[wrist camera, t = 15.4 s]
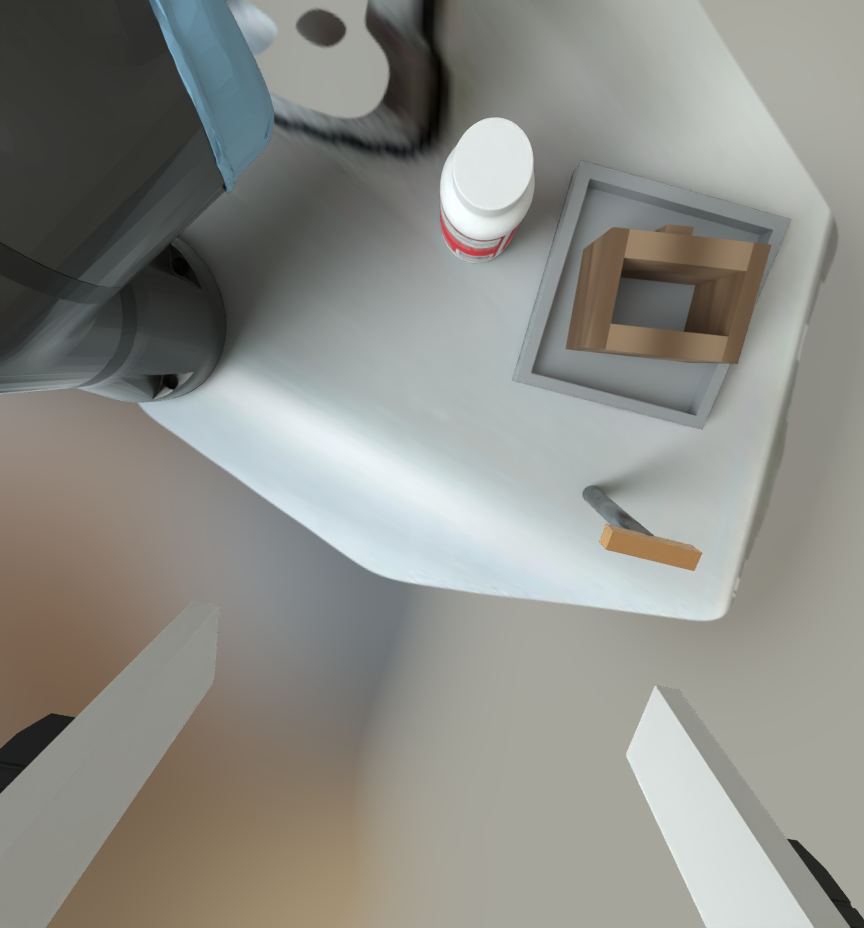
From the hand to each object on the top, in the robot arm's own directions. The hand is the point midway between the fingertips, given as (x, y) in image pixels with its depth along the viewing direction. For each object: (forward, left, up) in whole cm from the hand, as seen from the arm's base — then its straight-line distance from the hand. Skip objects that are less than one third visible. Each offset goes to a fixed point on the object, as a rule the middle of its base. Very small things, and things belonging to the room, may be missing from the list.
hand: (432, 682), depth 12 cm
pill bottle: (-2, +20, -28) cm, 35 cm away
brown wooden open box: (+13, +17, -27) cm, 35 cm away
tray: (+13, +17, -28) cm, 35 cm away
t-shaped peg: (+15, 0, -28) cm, 32 cm away
